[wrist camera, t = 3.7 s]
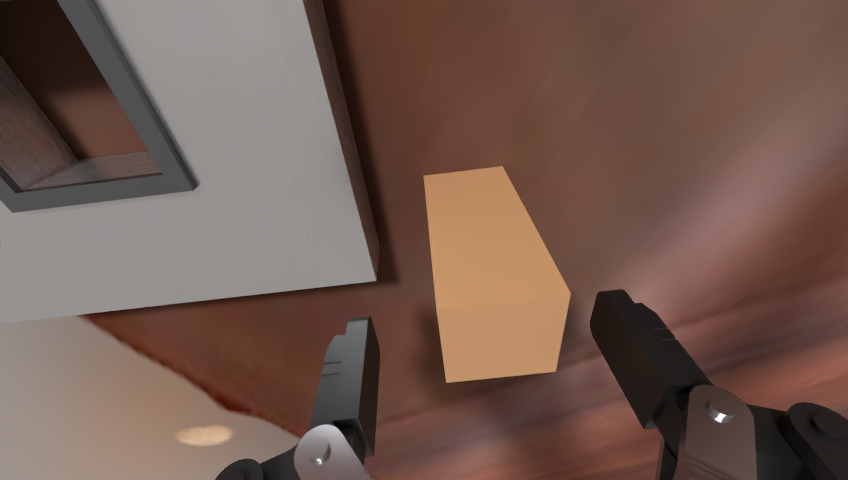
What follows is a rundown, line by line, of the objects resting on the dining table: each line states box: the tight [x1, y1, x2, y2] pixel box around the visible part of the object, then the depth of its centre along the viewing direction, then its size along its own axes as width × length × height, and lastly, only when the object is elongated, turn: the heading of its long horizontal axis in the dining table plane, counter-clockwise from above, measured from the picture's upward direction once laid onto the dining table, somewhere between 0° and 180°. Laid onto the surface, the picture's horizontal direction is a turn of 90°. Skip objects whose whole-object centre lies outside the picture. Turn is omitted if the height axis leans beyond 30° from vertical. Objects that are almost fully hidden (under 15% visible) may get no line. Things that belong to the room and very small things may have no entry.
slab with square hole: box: [0, 0, 380, 323], centre depth 13 cm, size 20×20×3 cm
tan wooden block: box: [424, 166, 571, 383], centre depth 15 cm, size 4×4×9 cm
